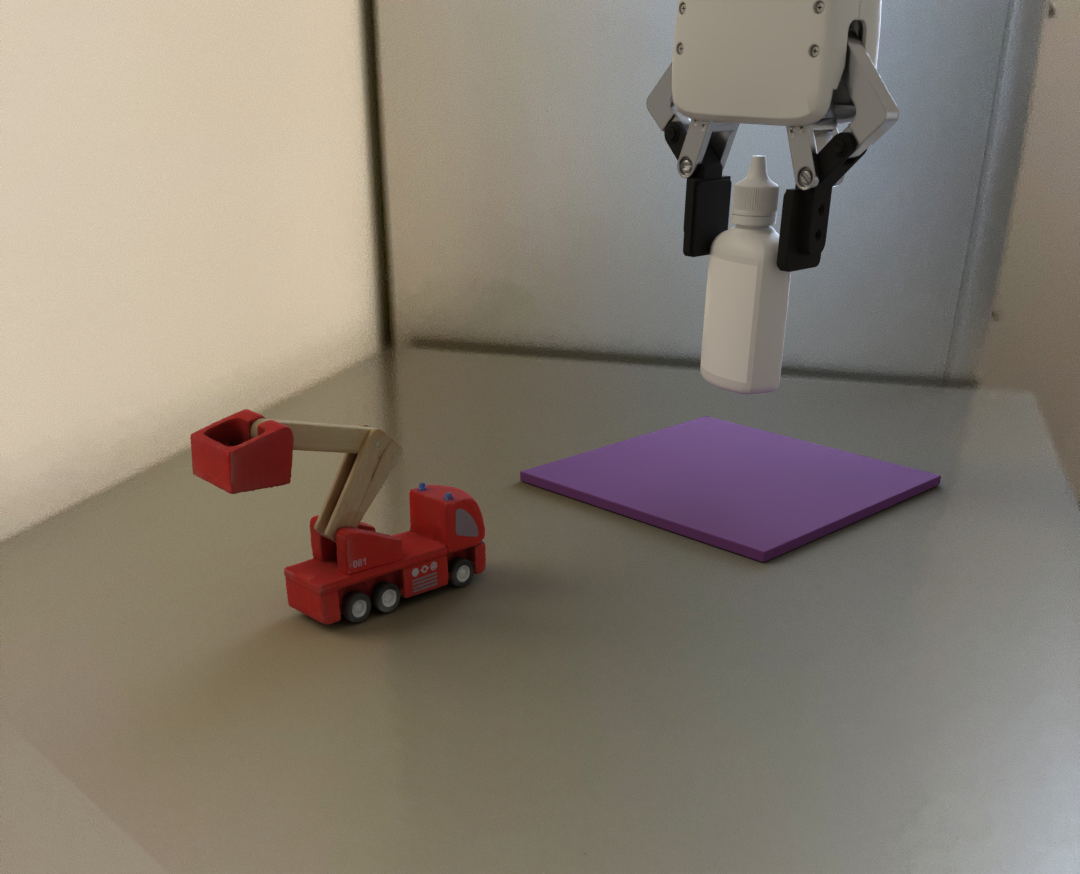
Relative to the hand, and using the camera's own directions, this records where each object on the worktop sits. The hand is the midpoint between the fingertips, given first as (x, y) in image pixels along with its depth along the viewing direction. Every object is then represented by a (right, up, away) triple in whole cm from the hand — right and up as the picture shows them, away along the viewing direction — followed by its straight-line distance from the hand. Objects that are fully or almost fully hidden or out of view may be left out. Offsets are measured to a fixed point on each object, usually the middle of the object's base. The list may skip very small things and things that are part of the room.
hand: (750, 257), depth 66 cm
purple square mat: (0, -11, +6) cm, 13 cm away
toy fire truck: (-20, -20, -10) cm, 30 cm away
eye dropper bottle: (0, -6, +3) cm, 7 cm away
